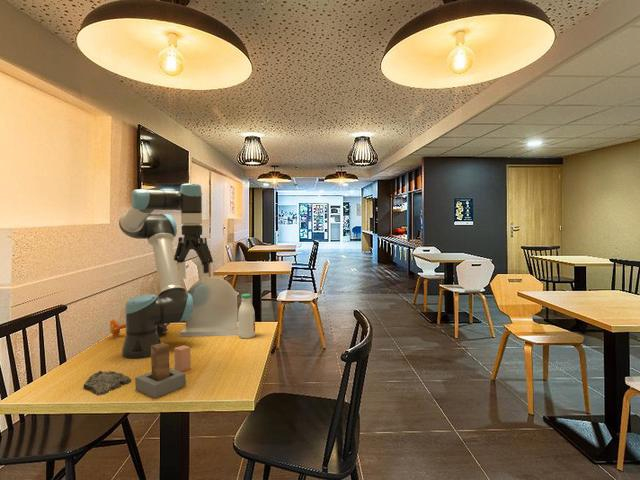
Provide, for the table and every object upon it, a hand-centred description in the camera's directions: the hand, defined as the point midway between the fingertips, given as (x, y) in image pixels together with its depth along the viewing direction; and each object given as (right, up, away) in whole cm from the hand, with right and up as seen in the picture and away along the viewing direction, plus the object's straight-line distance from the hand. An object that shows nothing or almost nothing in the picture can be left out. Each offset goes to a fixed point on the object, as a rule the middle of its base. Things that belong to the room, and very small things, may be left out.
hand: (193, 280), depth 148 cm
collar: (-3, -33, -21) cm, 39 cm away
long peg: (-3, -33, -21) cm, 39 cm away
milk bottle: (+14, -30, +35) cm, 48 cm away
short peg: (-2, -32, -5) cm, 33 cm away
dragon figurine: (-37, -31, +37) cm, 61 cm away
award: (-4, -30, +40) cm, 50 cm away
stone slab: (-24, -34, -18) cm, 45 cm away
